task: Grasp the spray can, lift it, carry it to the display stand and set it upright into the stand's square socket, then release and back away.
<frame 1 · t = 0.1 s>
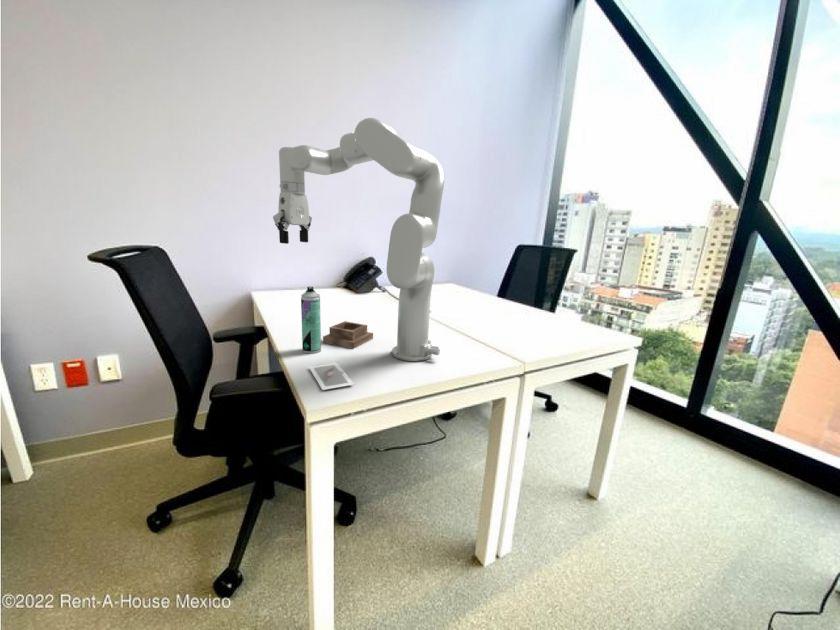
hand: (294, 242, 125), 31 cm above the table, tool pointing down, fingers open, 9 cm apart
spray can: (311, 351, 116), on the table
display stand: (348, 340, 127), on the table
touchpad: (330, 379, 98), on the table
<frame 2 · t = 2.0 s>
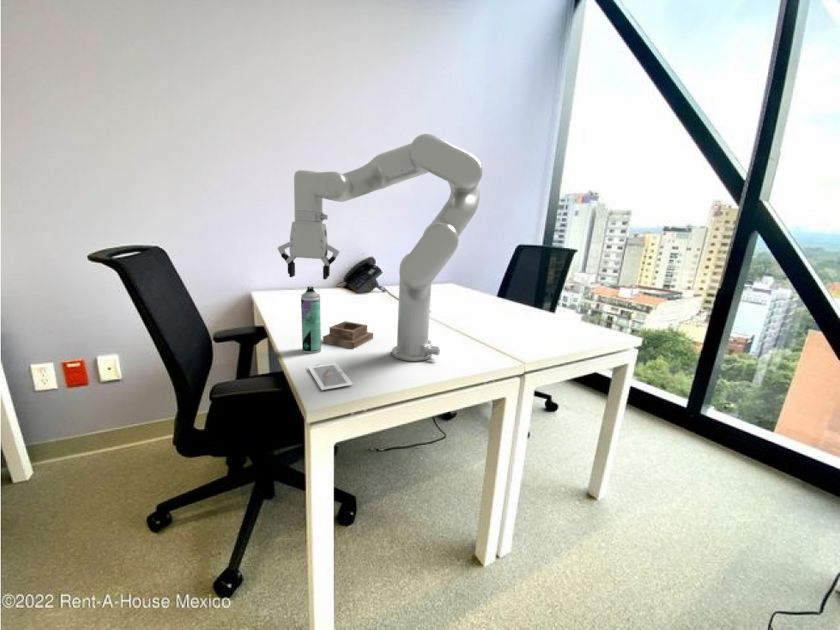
hand: (308, 277, 110), 23 cm above the table, tool pointing down, fingers open, 9 cm apart
nothing on the table moved.
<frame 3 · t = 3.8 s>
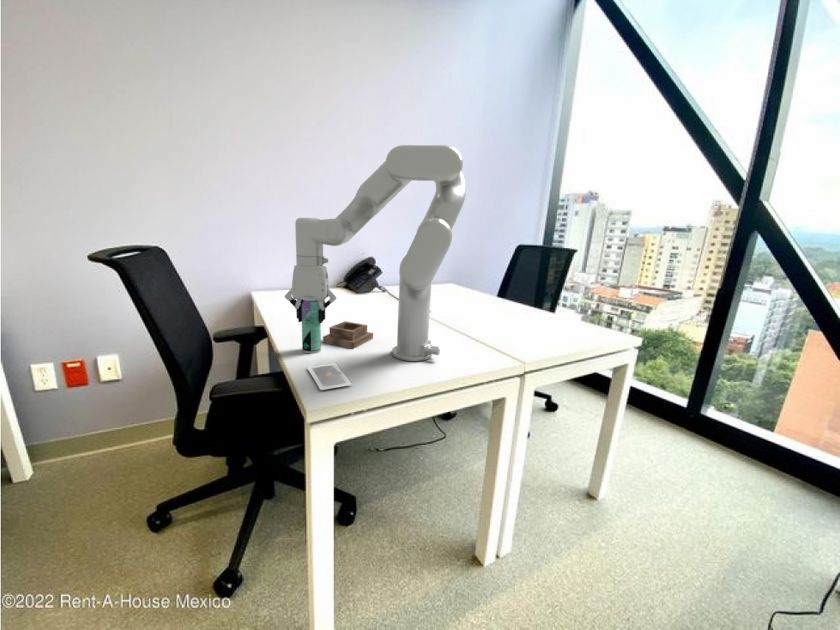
hand: (311, 320, 113), 10 cm above the table, tool pointing down, fingers closed on spray can, 5 cm apart
spray can: (311, 351, 116), on the table, touching gripper
everything else where it was.
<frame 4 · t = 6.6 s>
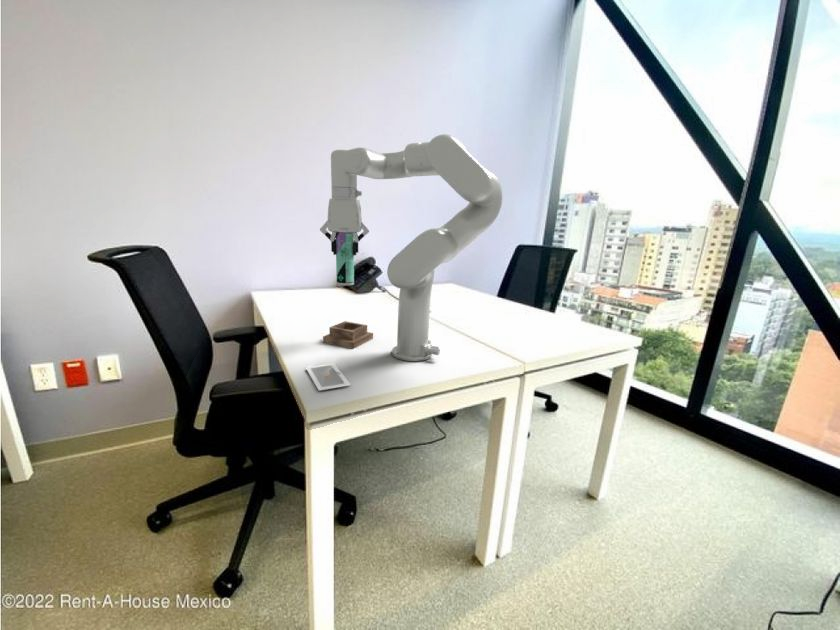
hand: (345, 254, 118), 29 cm above the table, tool pointing down, fingers closed on spray can, 5 cm apart
spray can: (345, 284, 120), point 19 cm above the table, touching gripper
everything else where it was.
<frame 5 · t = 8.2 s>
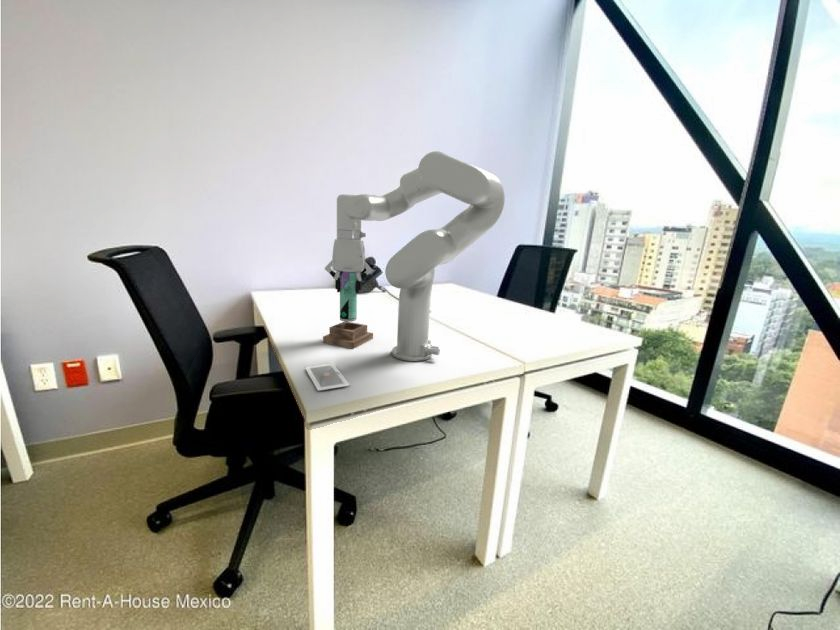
hand: (348, 291, 122), 17 cm above the table, tool pointing down, fingers closed on spray can, 5 cm apart
spray can: (348, 320, 125), point 7 cm above the table, touching gripper
when the fingers open (13 cm above the table, at t = 9.4 s): spray can drops 1 cm, resting on display stand.
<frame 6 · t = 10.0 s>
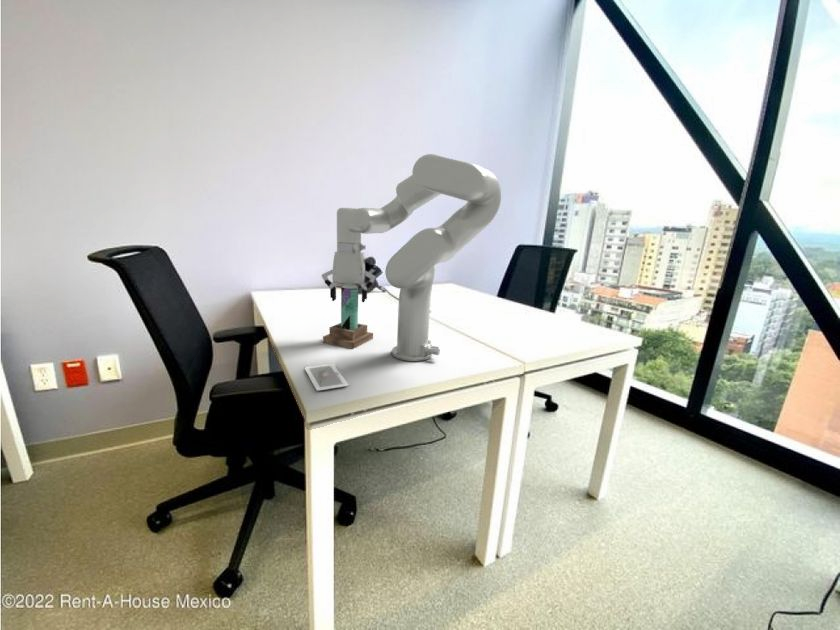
hand: (348, 300, 123), 14 cm above the table, tool pointing down, fingers open, 9 cm apart
spray can: (349, 335, 126), point 2 cm above the table, touching display stand
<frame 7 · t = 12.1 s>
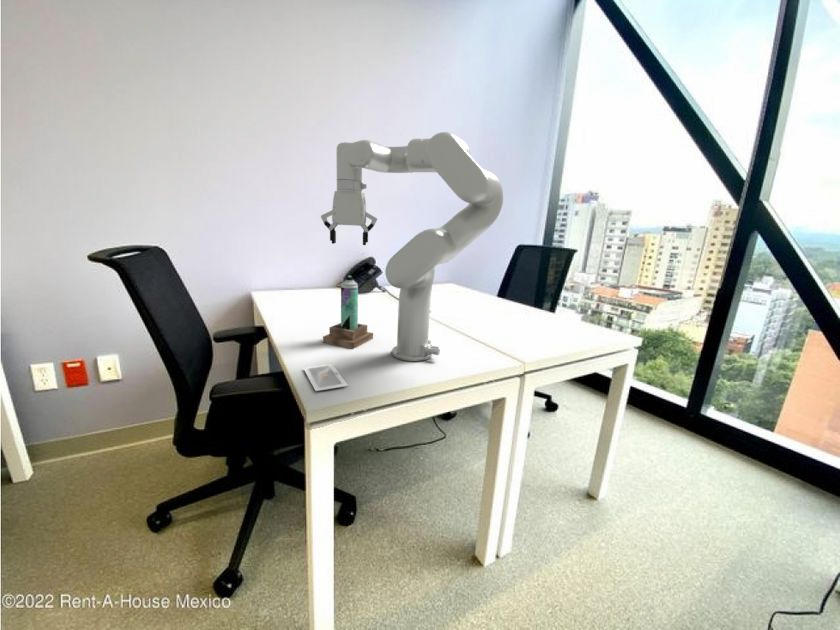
hand: (349, 244, 118), 32 cm above the table, tool pointing down, fingers open, 9 cm apart
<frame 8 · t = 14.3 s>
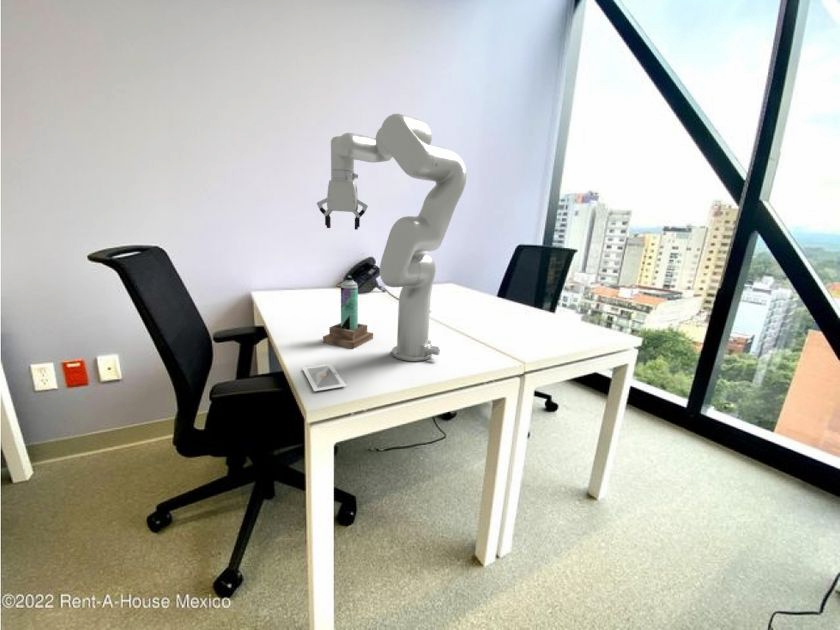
hand: (342, 228, 131), 36 cm above the table, tool pointing down, fingers open, 9 cm apart
at the end: spray can 0.2 cm off-centre on the display stand, point 1.8 cm above the display stand's base; spray can tilted 0°; the gripper is holding nothing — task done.
